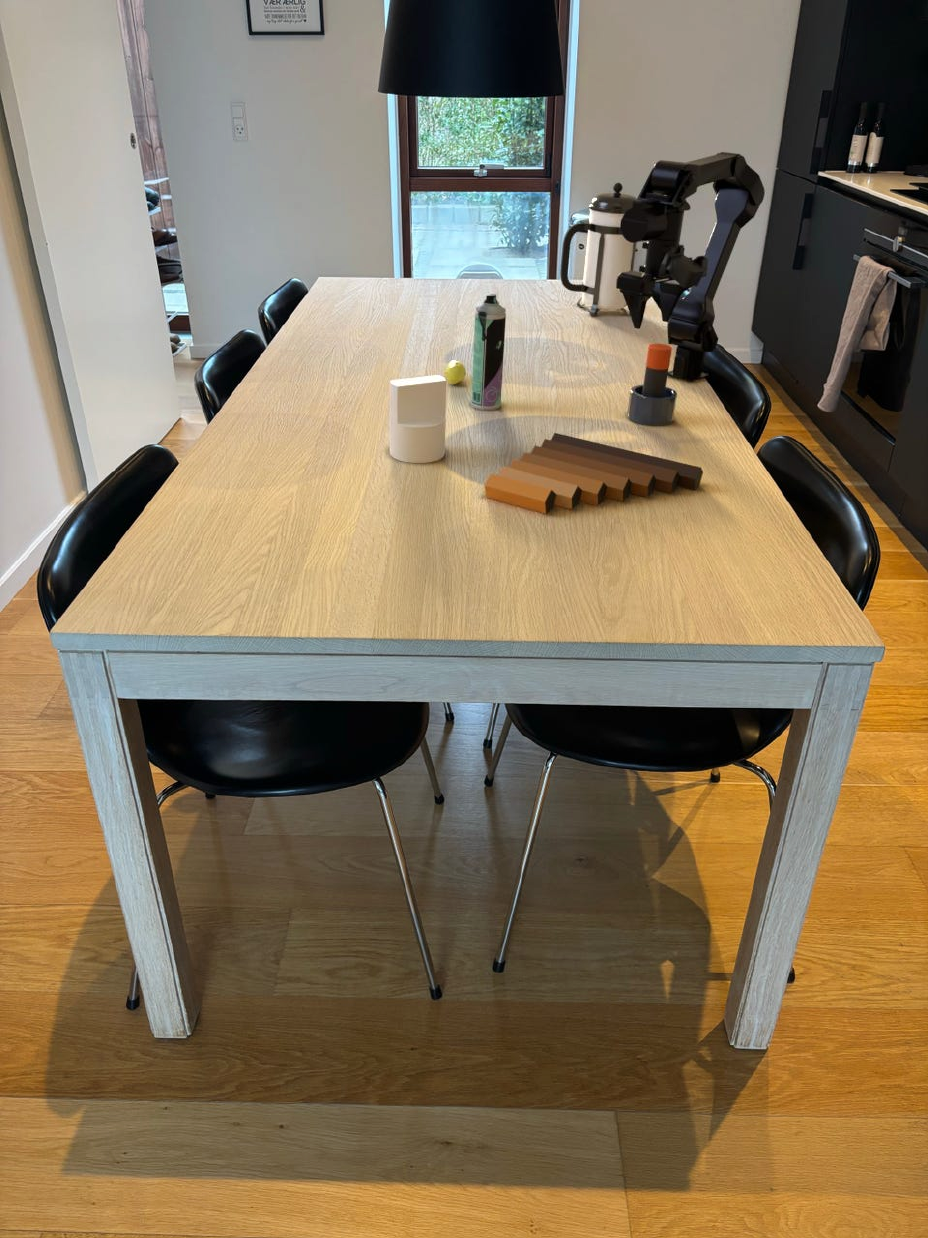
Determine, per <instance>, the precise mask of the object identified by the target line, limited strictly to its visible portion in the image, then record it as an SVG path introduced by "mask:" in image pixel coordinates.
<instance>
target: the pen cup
mask: <svg viewBox="0 0 928 1238" xmlns="http://www.w3.org/2000/svg"><path fill="white" fill-rule="evenodd" d="M629 391H630V392H629V398H628V406H627V419H628V420H630V421H631V422H633V423H636V424H640V425H644V426H650V427H651V426H652V427H661V426H667V425H670V424H671V423H672V422H673V420H674V417H675V410H676V404H677V398H678V393H677V391H676V390H675V389H673V388H671V387H668V386H666V389H665V395H664V398H653V397H647V396H643V395H642V391H643V384H637V385H634V386H632V387H631V388H630V390H629Z"/></svg>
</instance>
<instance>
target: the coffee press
mask: <svg viewBox="0 0 928 1238" xmlns="http://www.w3.org/2000/svg"><path fill="white" fill-rule="evenodd" d="M612 189H613V192H607V193H606V192H604V193H600V194H597V195H596V196H594V197H593V198H592V200H591V202H590V203H589V204H588V209H589V219H588V221H587V222H577V223H574V224H572V225H571V226H570V227H569V228H568V229H567V231H566V232H565V234H564V236H563V241H562V248H561V259H560V269H559V271H560V272H559V278H560V282H561V284H562V286H563V288H564V289H566V290H568V291H570V292H575V293H576V292H577V293H581V297H580V299H579V300H578V301H577V302H576V307H578V308H582V307H584V306H587V307H588V308H590V311H589V316H591V317H596V316H597V315H598V313H599V311H601V310H604V311H614V310H615V311H617V310H621V311H622V312H623V313H624V314H625V316H628V317H629V316H631V315H630V313H628V311H627V310H626V307H628V306H627V304H626V301H625V299H624V296H623V294H622V293H620V291H619V290H620V289H617V288H616V280H617V276H619V275H620V274H621V273H622V272H628V271H634V266H635V259H636V251H637V243H638V242H636V243H631V242H629V241H627V240H626V239H625V238H624V237H623V235H622V233H621V228H620V223H621V219H622V218H623V215H624V214H625V212H626V211H627V210H629V209H630V208H632V206H633V201H634V200H637V198H638V197H636V196H634V195H631V194H627V193H621V192H622V190H623V189H624V187H623V185H622V183H621V182H615V183H614V184H613V186H612ZM583 231H587V240H586V249H585V261H584V271H583V281H582V283H581V284H580V283H579V284H578V283H577V284H576V283H575V284H574V283H572V282H571V281H570V280H569V265H570V256H571V255H570V254H571V245H572V240H573V238H574V236H575V234H577V233H578V232H583ZM581 302H582V305H581Z"/></svg>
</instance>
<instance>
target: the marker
mask: <svg viewBox="0 0 928 1238" xmlns="http://www.w3.org/2000/svg"><path fill="white" fill-rule="evenodd" d="M672 350H673V347H672V346H671V345H670V344H665V343H650V344H648V346H647V354H646V361H645V370H644V377H643V384H642V385H643V391H642V395H643V396H647V397H653V398H664V395H665V389H666V387H667V381H668V377H669V376H668V372H669V369H670V363H671V357H672Z"/></svg>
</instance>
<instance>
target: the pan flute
mask: <svg viewBox="0 0 928 1238" xmlns="http://www.w3.org/2000/svg"><path fill="white" fill-rule="evenodd" d="M703 474H704V471H703V469H702V467H701V466H697V465H692V464H688V463H684V462H680V461H675V460H670V459H667V458H662V457H659V456H654V455H651V454H650V455H649V454H646V453H641V452H637V451H633V450H629V449H625V448H621V447H617V446H613V445H607V444H605V443H600V442H595V441H591V440H587V439H583V438H578V437H574V436H570V435H566V434H561V433H557V432H554V433H553V436H552V437H551V438H550V439H546V438H544V440H543V442H542V444H541V446H539V445H534V446H533V448H532V450H531V452H530V453H529V452H527V451H524V452H523V454H522V455H521V458H520V460H519V459H516V458H513V459H512V461H511V463H510V465H509V466H504V465H503V466H501V468H500V470H499V471H498V474H495V473H490V474H489V476H488V478H487V480H486V482H485V483H484V493H485V498H488V499H490V500H491V499H492V500H494V501H499V502H502V503H505V504H509V505H513V506H516V507H520V508H523V509H527V510H531V511H535V512H538V513H541V514H545V515H546V514H548V513H549V512H551V511H552V510H553V509H554V506H557V507H560V508H564V509H568V510H574V509H575V508H576V507H578V506H579V504H580V502H583V503H586V504H589V505H593V506H600V505H601V504H602V503H603V502H604V501H605V498H606V499H607V498H608V499H611V500H615V501H619V502H624V501H626V499H628V498H629V496H630V495H635V496H639V497H642V498H647V499H648V498H649V497H650V496H651V495H652V494H653V493H654V491H659V492H662V493H665V494H670V495H672V494H673V493H674V492H675V491H676V490H677V488H678V487H680V488H684V489H689V490H692V491H696V490H697V489H698V488H699V487H700V485H701V482H702V479H703Z"/></svg>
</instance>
